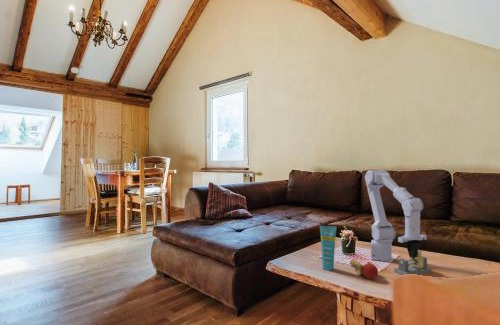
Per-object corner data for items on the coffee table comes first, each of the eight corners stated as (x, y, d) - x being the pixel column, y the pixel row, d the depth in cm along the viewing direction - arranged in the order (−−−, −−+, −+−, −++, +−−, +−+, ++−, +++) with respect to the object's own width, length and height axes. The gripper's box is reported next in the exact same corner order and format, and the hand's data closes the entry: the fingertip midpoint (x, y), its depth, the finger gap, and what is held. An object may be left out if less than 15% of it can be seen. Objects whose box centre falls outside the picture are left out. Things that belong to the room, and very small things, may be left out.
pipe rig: (405, 276, 122) (405, 262, 121) (394, 271, 127) (394, 258, 127) (431, 272, 127) (431, 258, 127) (419, 267, 132) (419, 254, 132)
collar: (419, 268, 125) (419, 252, 125) (410, 264, 129) (410, 249, 129) (423, 267, 126) (423, 251, 126) (413, 264, 130) (413, 248, 130)
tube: (319, 269, 130) (319, 226, 130) (320, 265, 135) (319, 224, 135) (336, 271, 128) (336, 227, 128) (336, 267, 133) (336, 225, 133)
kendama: (343, 269, 134) (363, 279, 117) (345, 255, 135) (365, 262, 118) (359, 271, 135) (381, 281, 117) (361, 257, 136) (383, 265, 118)
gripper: (407, 229, 121) (407, 262, 121) (433, 226, 126) (433, 258, 126) (394, 226, 127) (394, 257, 127) (418, 223, 132) (418, 253, 132)
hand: (412, 257), depth 127 cm, fingers closed
